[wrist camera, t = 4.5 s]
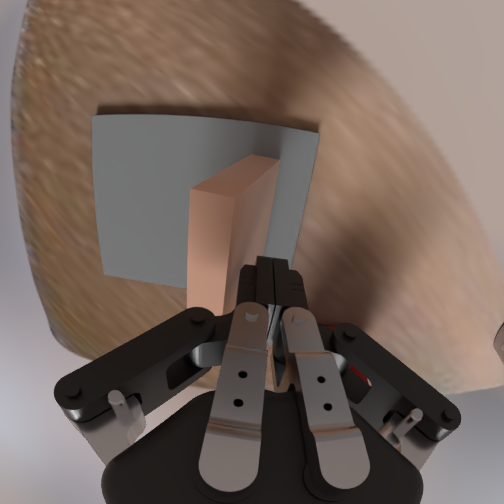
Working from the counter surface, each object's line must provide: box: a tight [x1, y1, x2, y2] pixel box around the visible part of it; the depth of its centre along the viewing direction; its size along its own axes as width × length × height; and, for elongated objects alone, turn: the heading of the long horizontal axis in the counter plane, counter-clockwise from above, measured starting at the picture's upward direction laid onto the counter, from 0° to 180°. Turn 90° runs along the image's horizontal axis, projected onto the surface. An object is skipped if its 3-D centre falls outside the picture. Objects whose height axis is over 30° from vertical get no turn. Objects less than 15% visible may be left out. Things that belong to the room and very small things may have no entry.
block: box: [187, 154, 280, 316], centre depth 16 cm, size 2×9×8 cm, turn 173°
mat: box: [92, 114, 320, 288], centre depth 20 cm, size 15×13×1 cm
